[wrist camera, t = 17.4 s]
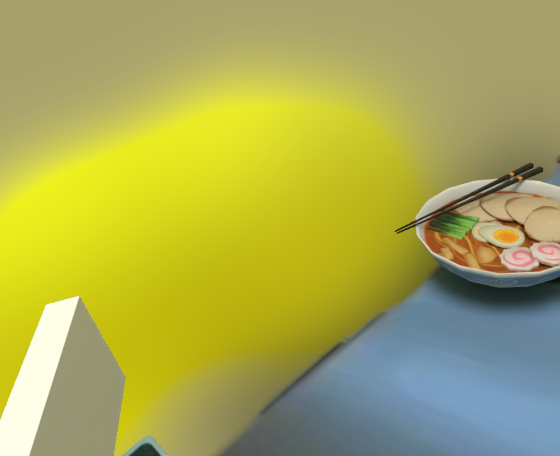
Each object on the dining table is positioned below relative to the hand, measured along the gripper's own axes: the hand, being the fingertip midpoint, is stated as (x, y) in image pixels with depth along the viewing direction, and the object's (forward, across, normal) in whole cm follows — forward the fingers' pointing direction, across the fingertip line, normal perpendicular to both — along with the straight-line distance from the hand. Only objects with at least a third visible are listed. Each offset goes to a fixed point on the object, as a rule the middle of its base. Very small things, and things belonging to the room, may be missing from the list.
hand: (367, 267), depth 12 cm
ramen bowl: (+43, +28, -40) cm, 65 cm away
